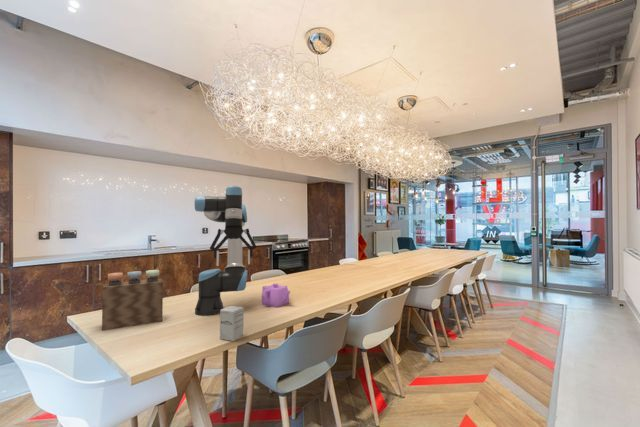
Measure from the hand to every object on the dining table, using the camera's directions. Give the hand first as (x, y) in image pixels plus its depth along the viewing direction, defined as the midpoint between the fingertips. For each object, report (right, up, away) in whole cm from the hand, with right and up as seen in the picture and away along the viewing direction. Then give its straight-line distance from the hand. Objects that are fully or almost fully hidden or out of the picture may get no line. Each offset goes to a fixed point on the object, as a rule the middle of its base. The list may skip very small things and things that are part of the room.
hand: (233, 265), depth 133 cm
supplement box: (0, -31, -4) cm, 31 cm away
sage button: (-48, -10, +20) cm, 53 cm away
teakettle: (+12, -33, +50) cm, 61 cm away
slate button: (-55, -10, +16) cm, 58 cm away
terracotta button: (-62, -10, +12) cm, 64 cm away
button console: (-55, -32, +16) cm, 65 cm away
